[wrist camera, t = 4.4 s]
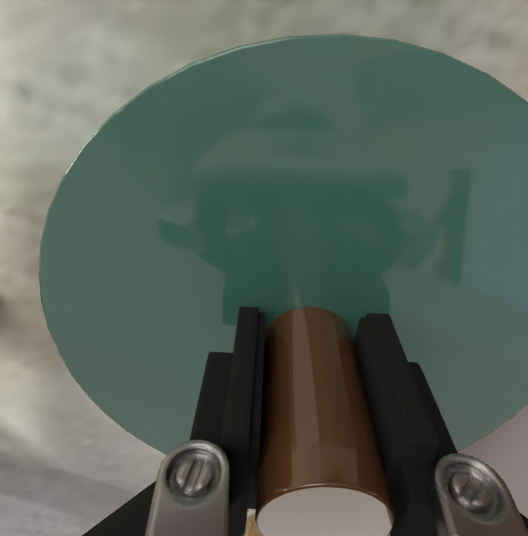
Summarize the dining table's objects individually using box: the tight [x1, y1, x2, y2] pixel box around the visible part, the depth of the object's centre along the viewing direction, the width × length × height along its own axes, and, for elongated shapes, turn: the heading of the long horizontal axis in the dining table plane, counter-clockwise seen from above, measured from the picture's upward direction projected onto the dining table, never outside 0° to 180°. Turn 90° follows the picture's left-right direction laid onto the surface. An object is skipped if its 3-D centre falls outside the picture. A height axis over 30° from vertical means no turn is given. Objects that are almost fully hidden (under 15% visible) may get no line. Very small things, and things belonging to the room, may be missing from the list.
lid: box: [39, 34, 528, 536], centre depth 10 cm, size 16×16×6 cm
